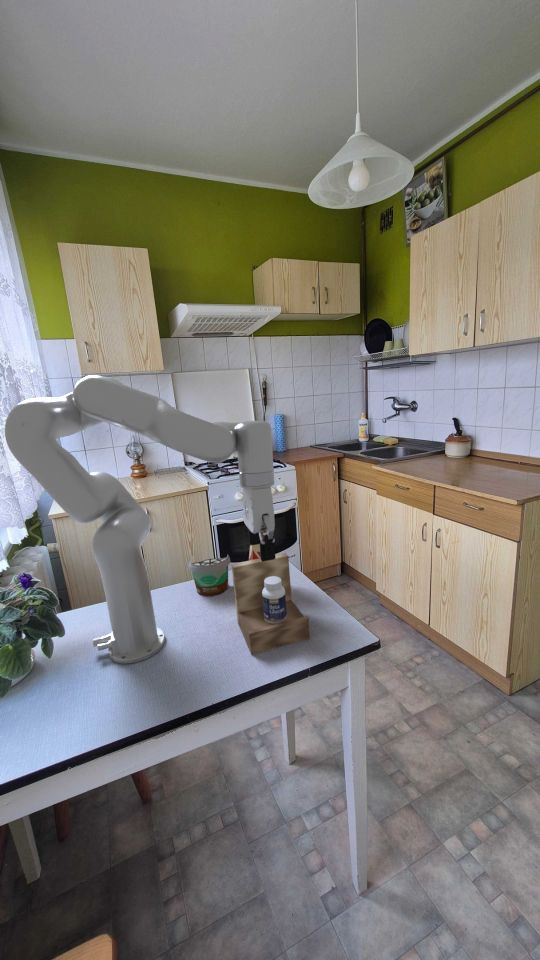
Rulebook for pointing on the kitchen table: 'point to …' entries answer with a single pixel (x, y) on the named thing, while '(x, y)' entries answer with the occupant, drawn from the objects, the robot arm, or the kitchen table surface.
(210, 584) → the food container
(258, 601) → the cardboard holder
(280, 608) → the pill bottle
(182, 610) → the kitchen table surface
